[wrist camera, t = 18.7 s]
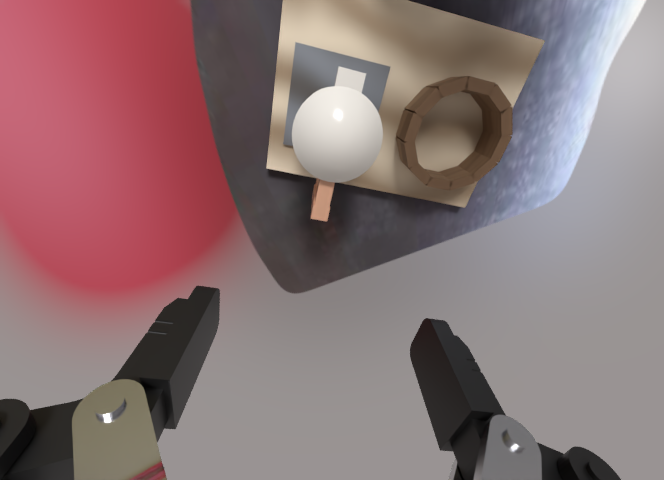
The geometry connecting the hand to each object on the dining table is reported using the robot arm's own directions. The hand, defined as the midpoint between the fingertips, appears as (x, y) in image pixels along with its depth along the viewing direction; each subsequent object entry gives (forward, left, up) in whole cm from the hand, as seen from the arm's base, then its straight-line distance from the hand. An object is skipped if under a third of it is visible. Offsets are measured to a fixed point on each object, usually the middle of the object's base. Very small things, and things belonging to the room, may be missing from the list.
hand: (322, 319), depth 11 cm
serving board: (-7, +6, -24) cm, 26 cm away
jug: (-3, 0, -23) cm, 23 cm away
